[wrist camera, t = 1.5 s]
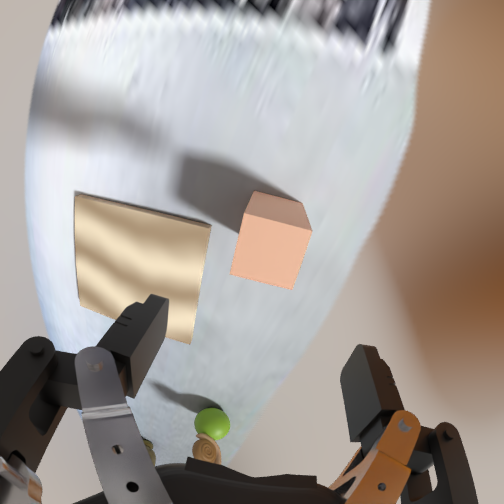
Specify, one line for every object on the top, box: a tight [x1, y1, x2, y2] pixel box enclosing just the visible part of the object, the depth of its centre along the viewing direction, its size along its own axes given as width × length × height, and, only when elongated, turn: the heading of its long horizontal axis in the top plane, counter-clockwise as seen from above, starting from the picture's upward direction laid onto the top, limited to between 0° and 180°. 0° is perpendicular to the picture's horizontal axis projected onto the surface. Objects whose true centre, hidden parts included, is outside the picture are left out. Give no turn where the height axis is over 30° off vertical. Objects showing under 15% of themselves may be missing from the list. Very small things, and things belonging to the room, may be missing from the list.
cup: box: [143, 439, 156, 467], centre depth 44 cm, size 8×7×8 cm
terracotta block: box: [230, 191, 312, 290], centre depth 23 cm, size 5×5×8 cm
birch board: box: [75, 194, 212, 344], centre depth 30 cm, size 15×16×1 cm
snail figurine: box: [192, 408, 230, 465], centre depth 34 cm, size 5×6×12 cm
